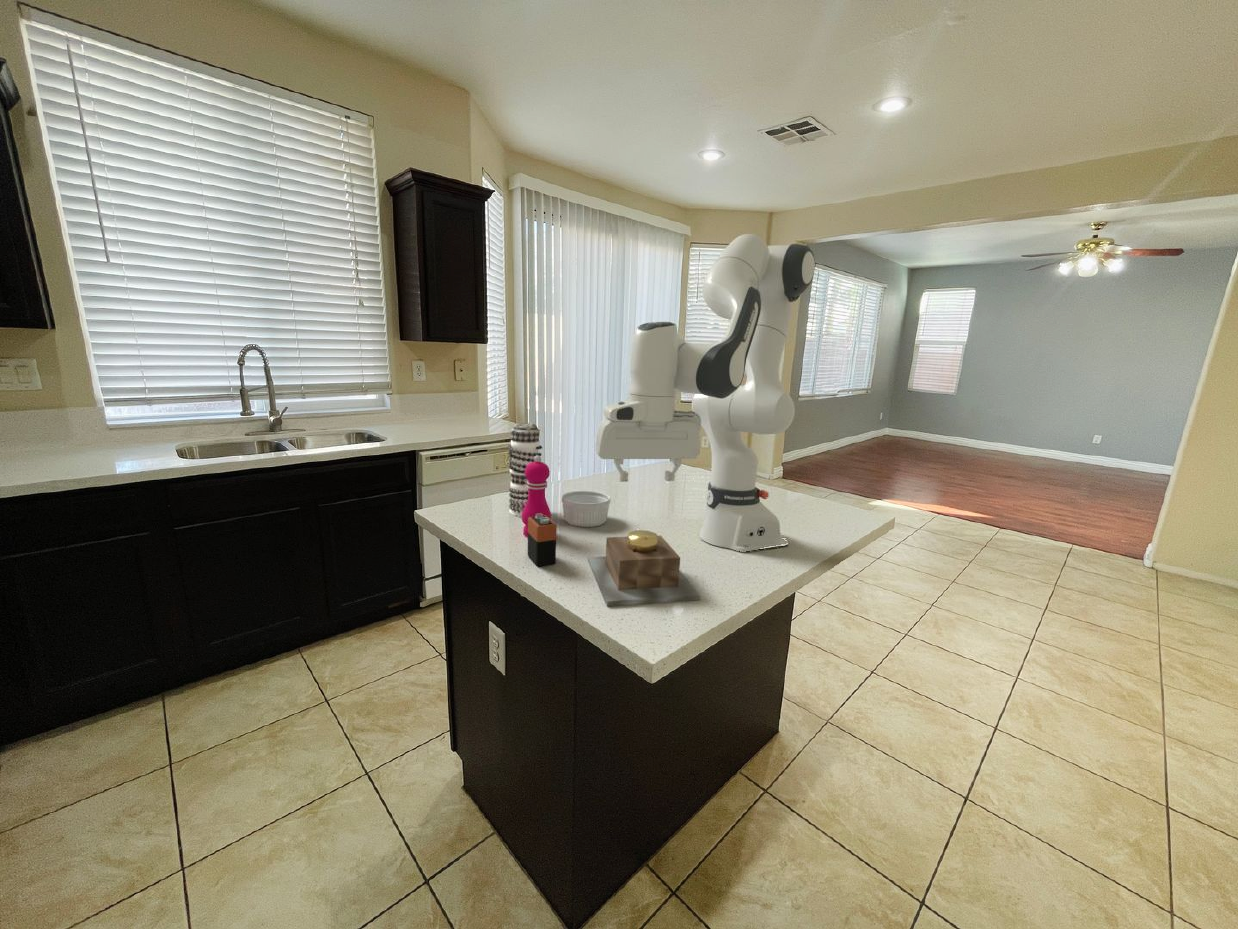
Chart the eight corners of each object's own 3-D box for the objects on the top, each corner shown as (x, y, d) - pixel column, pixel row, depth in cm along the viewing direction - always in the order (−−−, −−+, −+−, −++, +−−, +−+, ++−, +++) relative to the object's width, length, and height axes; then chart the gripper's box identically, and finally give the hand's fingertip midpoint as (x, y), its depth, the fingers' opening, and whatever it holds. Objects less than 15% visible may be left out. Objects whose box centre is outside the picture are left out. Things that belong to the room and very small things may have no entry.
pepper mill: (544, 540, 118) (546, 459, 113) (516, 537, 119) (517, 456, 115) (554, 530, 124) (556, 454, 120) (527, 527, 126) (528, 451, 122)
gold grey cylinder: (650, 566, 103) (652, 529, 101) (658, 579, 97) (661, 540, 95) (622, 568, 101) (624, 530, 100) (629, 581, 96) (632, 541, 94)
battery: (536, 567, 103) (537, 522, 100) (526, 555, 108) (527, 512, 106) (556, 564, 105) (557, 520, 102) (545, 552, 110) (546, 510, 108)
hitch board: (665, 557, 111) (667, 528, 110) (699, 600, 92) (703, 565, 91) (588, 561, 107) (589, 531, 105) (606, 606, 88) (608, 570, 87)
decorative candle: (527, 504, 145) (528, 421, 139) (547, 512, 139) (549, 425, 133) (501, 511, 138) (501, 423, 132) (521, 519, 132) (522, 427, 127)
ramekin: (567, 511, 141) (568, 488, 139) (612, 515, 139) (614, 492, 138) (555, 526, 128) (556, 501, 126) (605, 531, 126) (606, 505, 125)
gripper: (695, 409, 98) (690, 476, 101) (595, 407, 93) (592, 477, 96) (708, 413, 92) (702, 484, 95) (602, 410, 87) (599, 485, 90)
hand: (646, 480), depth 95 cm, fingers open, 8 cm apart
